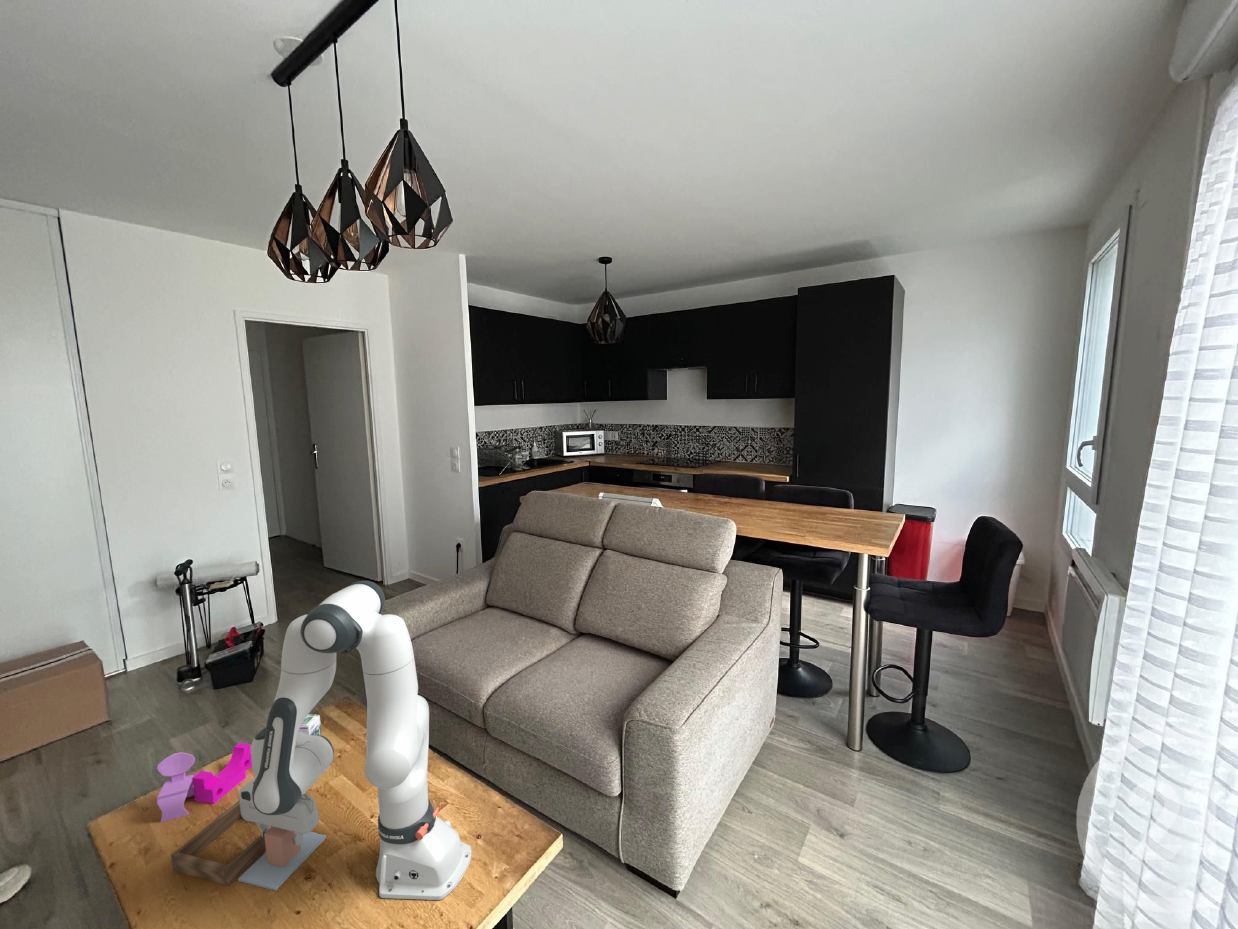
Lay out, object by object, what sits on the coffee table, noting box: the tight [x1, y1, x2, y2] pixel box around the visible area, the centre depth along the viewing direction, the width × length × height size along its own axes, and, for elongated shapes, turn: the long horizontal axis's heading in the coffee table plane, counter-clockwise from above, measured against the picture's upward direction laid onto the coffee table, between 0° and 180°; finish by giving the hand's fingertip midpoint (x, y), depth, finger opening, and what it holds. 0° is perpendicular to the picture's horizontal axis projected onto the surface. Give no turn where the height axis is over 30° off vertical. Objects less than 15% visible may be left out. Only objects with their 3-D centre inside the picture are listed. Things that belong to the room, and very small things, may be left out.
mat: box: [237, 831, 327, 892], centre depth 127 cm, size 11×15×1 cm
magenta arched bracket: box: [192, 742, 252, 805], centre depth 151 cm, size 15×6×8 cm, turn 170°
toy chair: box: [156, 751, 196, 823], centre depth 142 cm, size 8×9×15 cm
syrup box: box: [299, 713, 323, 736], centre depth 160 cm, size 6×6×14 cm
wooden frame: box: [170, 799, 272, 887], centre depth 130 cm, size 17×18×4 cm
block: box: [264, 826, 301, 867], centre depth 126 cm, size 5×5×8 cm
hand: (282, 839), depth 126 cm, fingers open, 8 cm apart
